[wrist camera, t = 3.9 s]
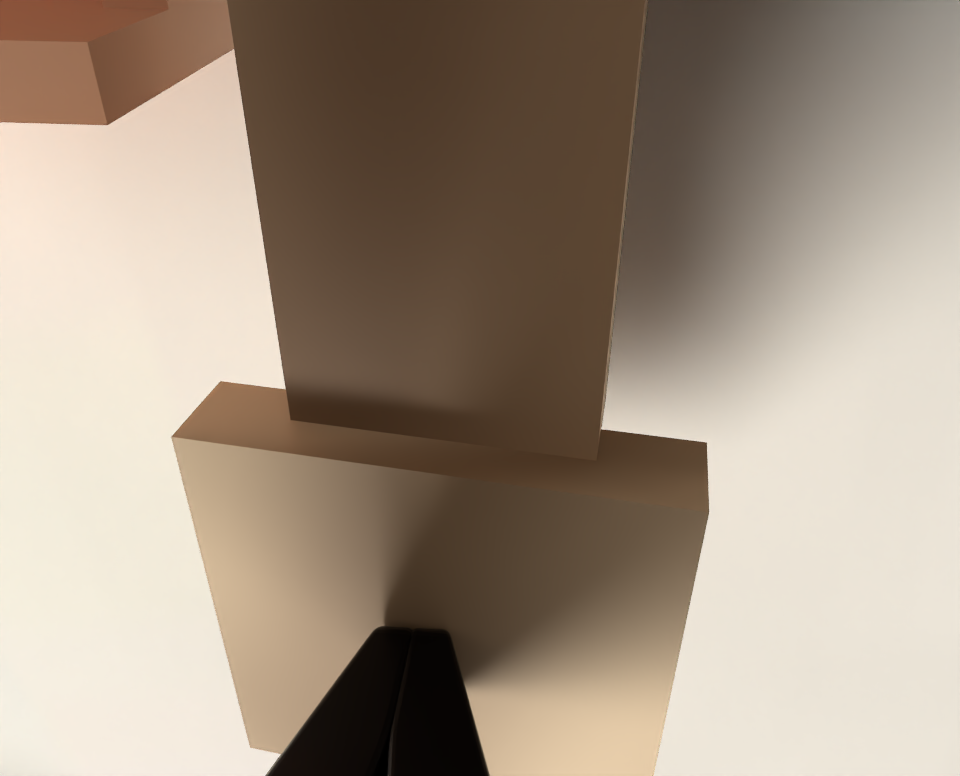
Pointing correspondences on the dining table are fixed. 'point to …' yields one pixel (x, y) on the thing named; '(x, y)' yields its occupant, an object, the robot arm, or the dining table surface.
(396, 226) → the lever
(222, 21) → the orange open box
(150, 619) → the dining table surface
